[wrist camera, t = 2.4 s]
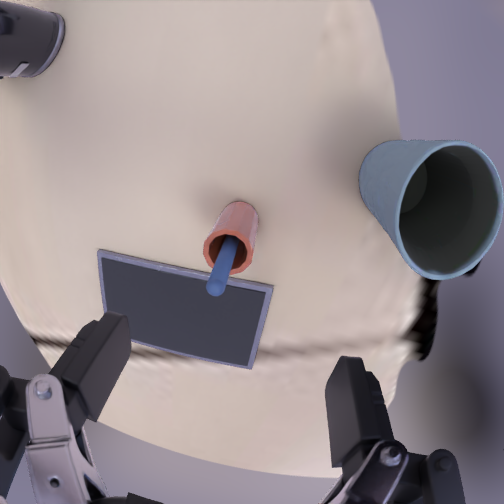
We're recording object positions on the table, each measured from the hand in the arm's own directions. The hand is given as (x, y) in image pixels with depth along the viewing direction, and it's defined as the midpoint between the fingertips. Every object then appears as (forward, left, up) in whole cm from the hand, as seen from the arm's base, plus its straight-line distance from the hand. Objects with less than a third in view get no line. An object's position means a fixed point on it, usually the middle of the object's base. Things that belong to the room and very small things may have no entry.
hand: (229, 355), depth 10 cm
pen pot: (-2, -2, -21) cm, 21 cm away
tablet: (-8, -16, -21) cm, 28 cm away
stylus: (-2, -2, -20) cm, 21 cm away
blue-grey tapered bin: (+13, +6, -21) cm, 26 cm away
